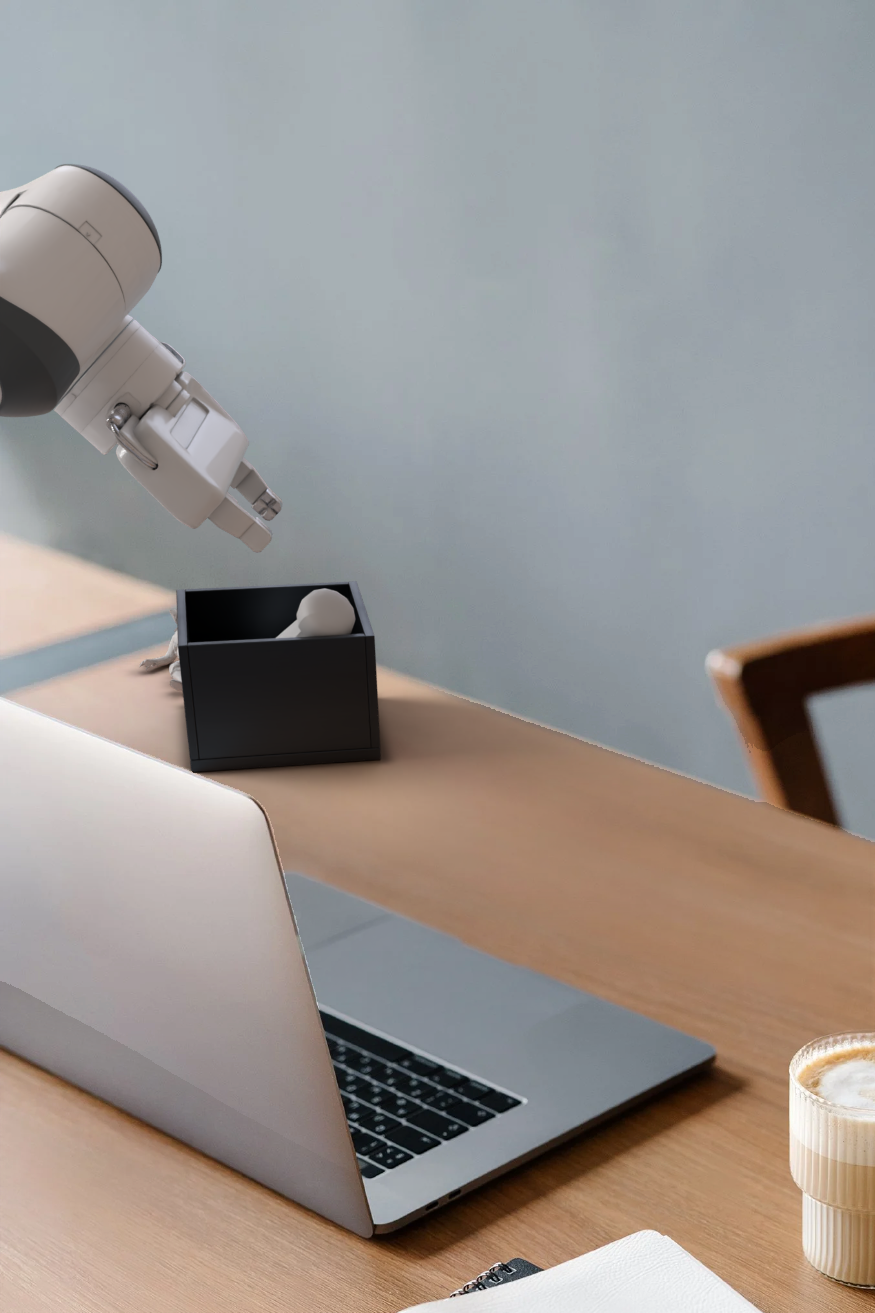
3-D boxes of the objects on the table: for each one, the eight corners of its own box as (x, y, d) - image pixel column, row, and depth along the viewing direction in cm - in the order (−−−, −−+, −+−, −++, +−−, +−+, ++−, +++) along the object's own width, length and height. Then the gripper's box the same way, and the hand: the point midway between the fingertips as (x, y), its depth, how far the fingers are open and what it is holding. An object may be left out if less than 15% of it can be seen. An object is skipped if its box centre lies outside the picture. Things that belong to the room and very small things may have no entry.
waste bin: (191, 772, 137) (177, 645, 132) (188, 707, 149) (176, 589, 145) (381, 759, 140) (374, 635, 135) (363, 696, 152) (356, 580, 148)
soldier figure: (145, 707, 152) (121, 624, 159) (189, 734, 155) (163, 651, 163) (207, 646, 150) (180, 565, 157) (250, 675, 153) (222, 594, 161)
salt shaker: (261, 642, 147) (306, 561, 136) (326, 671, 149) (376, 594, 138) (239, 700, 144) (284, 623, 133) (306, 729, 146) (356, 655, 135)
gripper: (132, 388, 121) (289, 533, 127) (173, 340, 139) (308, 469, 145) (72, 455, 123) (230, 596, 128) (120, 399, 141) (256, 524, 146)
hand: (272, 528), depth 137 cm, fingers open, 8 cm apart
